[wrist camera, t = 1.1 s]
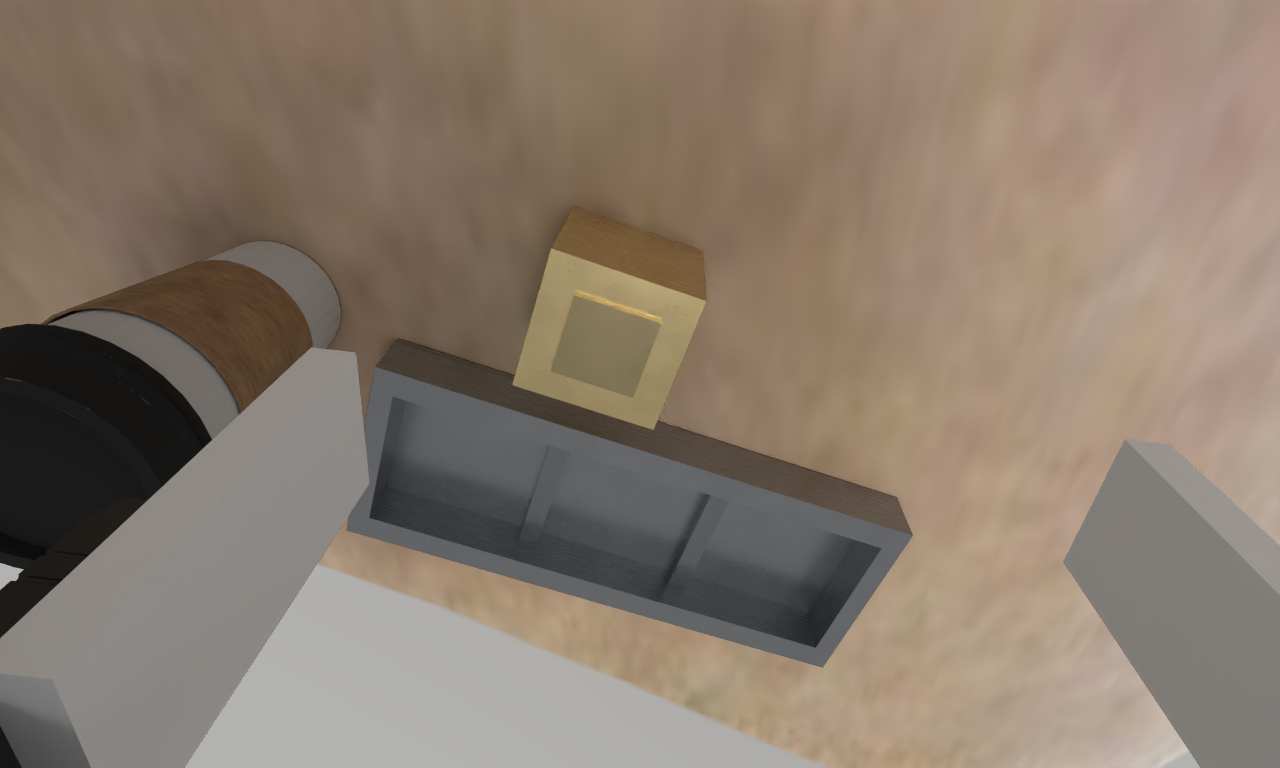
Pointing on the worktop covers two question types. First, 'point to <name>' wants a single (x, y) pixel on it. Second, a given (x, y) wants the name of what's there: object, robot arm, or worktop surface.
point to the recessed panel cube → (612, 318)
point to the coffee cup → (144, 383)
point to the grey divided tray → (619, 508)
